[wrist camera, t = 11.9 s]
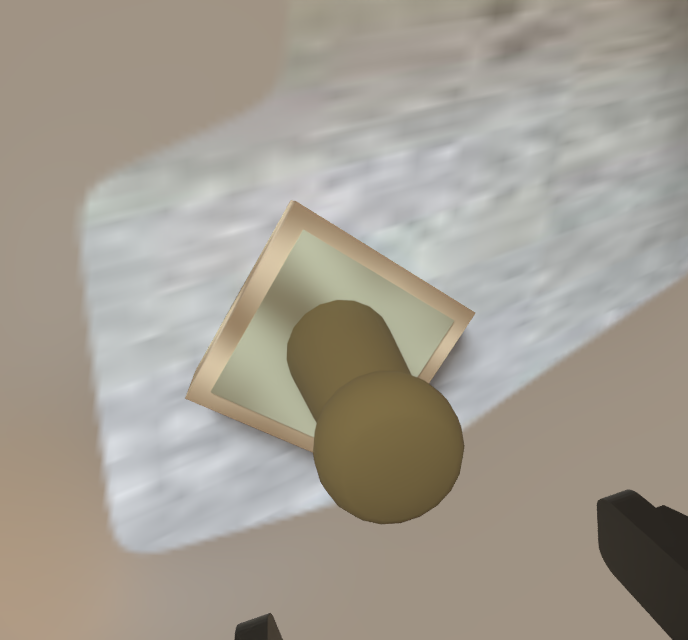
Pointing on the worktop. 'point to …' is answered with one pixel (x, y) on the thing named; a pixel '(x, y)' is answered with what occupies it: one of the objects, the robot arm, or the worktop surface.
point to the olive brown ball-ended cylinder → (372, 416)
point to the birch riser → (299, 298)
